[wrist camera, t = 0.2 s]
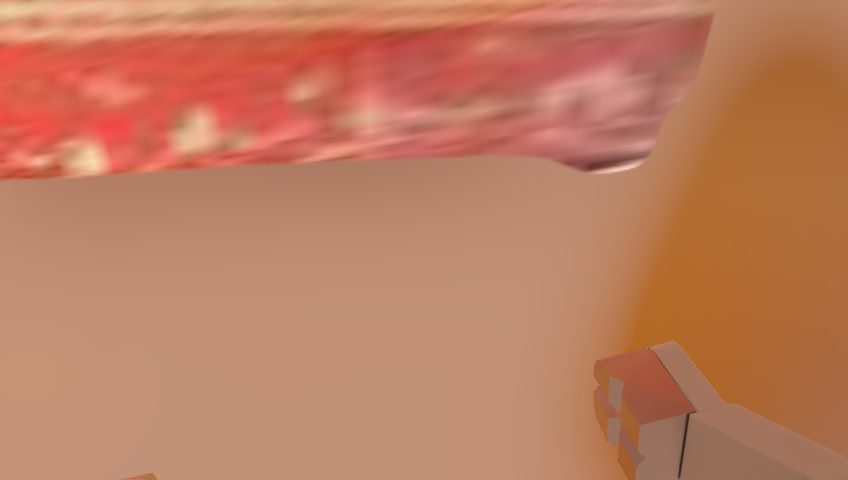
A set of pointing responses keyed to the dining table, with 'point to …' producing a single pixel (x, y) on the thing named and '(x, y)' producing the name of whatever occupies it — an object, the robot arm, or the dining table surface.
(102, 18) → the dining table surface
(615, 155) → the dining table surface
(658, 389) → the robot arm
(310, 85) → the dining table surface
